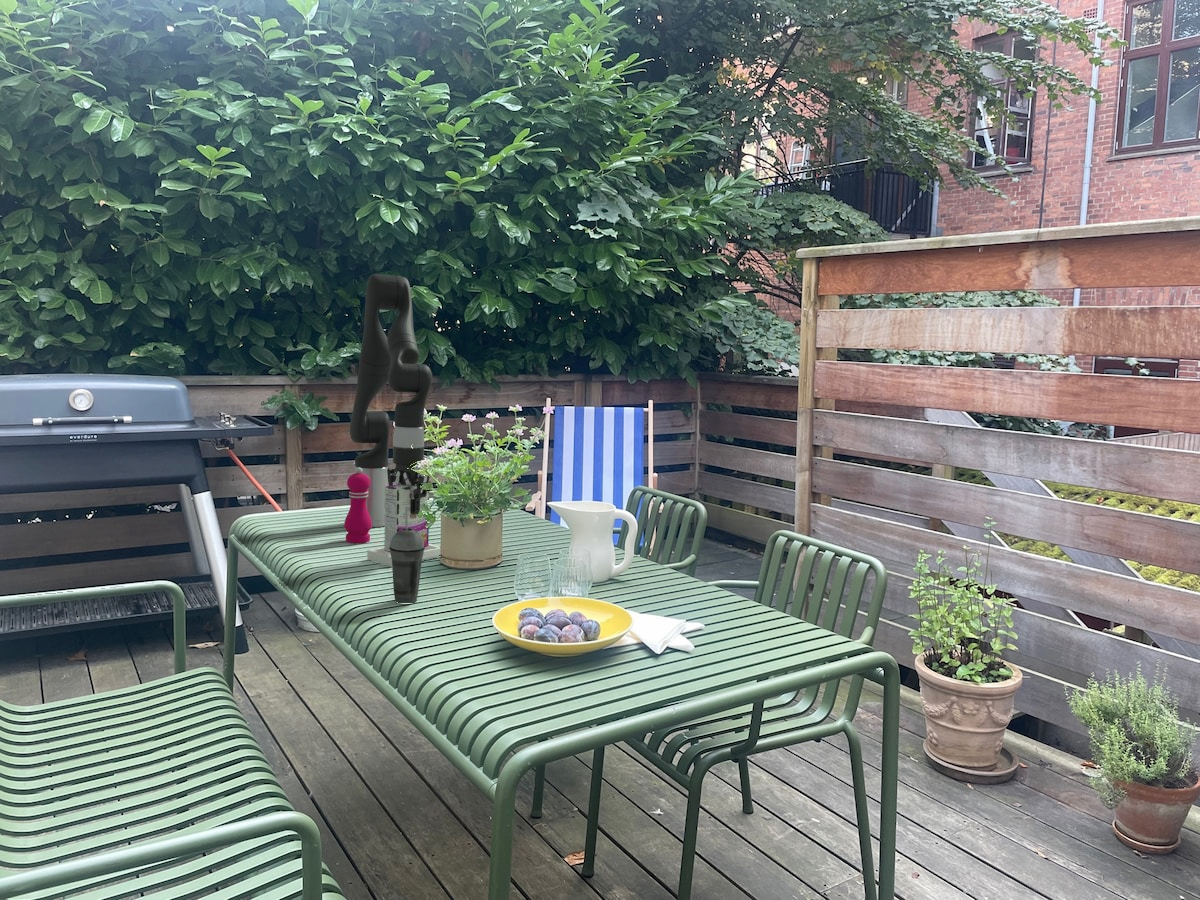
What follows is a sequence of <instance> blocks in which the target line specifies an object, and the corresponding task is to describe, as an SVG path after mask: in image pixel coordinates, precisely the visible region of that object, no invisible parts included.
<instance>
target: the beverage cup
mask: <svg viewBox="0 0 1200 900" xmlns="http://www.w3.org/2000/svg"><path fill="white" fill-rule="evenodd" d="M389 549H390V554H391V558H392V567H391V568H392V569H391V570H392V583H393V594H394V602H395V601H396V602H398V603H414V604H416V603H417V602H418V597H419V596H418V595H419V588H420V579H421V571H422V563H423V561H422V558H423V554H424V549H425V547H424V542H423V539H422V537H421V535H420V534H419V533H418V532H417V531H415V530H413V529H409V528H408V507H405V529H402V530H399V531H398V532H397V533H396V534H395V535H394V536H393V537H392V540H391V543H390V547H389ZM416 601H417V602H416ZM415 602H416V603H415Z"/></svg>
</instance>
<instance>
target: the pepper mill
mask: <svg viewBox="0 0 1200 900" xmlns="http://www.w3.org/2000/svg"><path fill="white" fill-rule="evenodd" d="M346 485H347V487H348V489H349V490H350V491H348V494H349V495H348V497H349V498H350V505H349V506H350V507H349V510H348V513H347V514H346V516H345V519H344V524H343V527H344V530H345V531H346V532H347V533H346V534H345V542H346V543H348V542H349V544H356V543H358V544H365V543H366V542H367V543H369V542H370V541H371V534H370V533H369V532H370V530H372V528H373V527H372V521H371V518H370V515H369V513H368V510H367V506H366V499H367V497H368V491H367V489H368V488H369V487H370V479H369V477H368V476H367V475H366V474H363V473H362V468H360V467H358V468H357V469H356V473H355V472H354V473H353V474H351V475H350V476H349V477H348V478H347V481H346Z"/></svg>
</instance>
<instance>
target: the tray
mask: <svg viewBox="0 0 1200 900" xmlns="http://www.w3.org/2000/svg"><path fill="white" fill-rule="evenodd" d="M428 545H429V546H427V547H425V549H424V554H423V558H422V562H425V561H424V560H427V561H430V560H429V559H432V560H434V559H433V558H437V557H439V555H440V547H441V546H438V545H435V544H431V543H428ZM366 555H367V559H368V561H370V560H371V562H374V563H378V564H381V565H383V566H387V567H390V568H392V558H391V554H390V552H387V551H385V546H383V547H379V548H371V549H367V553H366ZM367 559H366V560H367ZM437 559H438V558H437Z"/></svg>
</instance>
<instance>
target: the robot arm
mask: <svg viewBox="0 0 1200 900" xmlns="http://www.w3.org/2000/svg"><path fill="white" fill-rule="evenodd" d="M411 289H412V288H411V285H410V282H409V280H408V278H407V277H405V276H402V275H391V274H381V273H380V274H379V273H373V274H371V275H370V276H369V278H368V280H367V283H366V289H365V290H366V291H365V292H366V293H365V308H364V324H363V334H362V341H361V346H360V353H359V362H358V373H357V382H356V392H355V397H354V402H353V406H352V413H351V417H350V425H349V436H350V439H351V441H352V442H353V443H357V444H375V446H374V447H373V448H371V449H370V450H369V451H367V452H364V453H361V454H359V455H357V456H356V457H355V459H354V474H355V473H356V469H357V468H358V467H360V468H362V473H363V474H366V475H367V476H368V477H369V479H370V487H369V488H368V489H367V491H368V497H367V499H366V506H367V510H368V513H369V515H370V518H371V521H372V528H379V527H380V528H381V527H385V487H386V486H392V485H399V484H402V485H407V487H409V490H410V496H411V507H410V513H411V514H413V515H414V514H418V513H419V511H420V499H421V498H423V497H426V495H427V490H423V491H422V493H421V490H422V488H420V486H419V484H421V483H429V482H430V477H429V476H430V475H429V476H425V475H423V474H424V473H423V474H420V473H417V472H415V471H413V470H411V468H412V467H413V466H415V465H416V464H417V463H415V462H417V461H420V460H423V459H424V460H425V431H424V426H425V424H424V423H425V422H424V421H425V407H426V403H427V399H428V395H429V393H430V390H431V386H432V382H433V372H432V370H431V368H430V367H429V366H428V365H427V364H424V363H418V361H419V360H420V352H419V348H418V344H417V339H416V335H415V329H414V315H413V314H414V311H413V310H414V309H413V300H412V290H411ZM381 310H383V311H395V312H397V311H398V312H399V315H398V316H397V318H396V319H395V321H393V324H392V325H391V327H390V328H389V330H388V333H387V335H386V333H385V332H384V329H383V327H382V325H381V322H380V319H379V311H381ZM387 384H388V386H389V387H390V388H391V390H392V391H394V392H397V393H413V394H414V393H415V395H414V396H413V397H412V398H411V399H410V400H407V401H402V402H398V403H397V404H395V408H394V429H393V436H392V437H393V440H392V463H393V464H395V466H394V467H391V468H389V467H388V466H389V465H388V463H389V450H390V449H389V446H390V434H391V421H390V415H389V414H388V412H387V411H380V410H379V411H375V410H373V411H372V410H371V411H369V410H368V409H369V406H370V405H371V402H373V400H374V398H375V397H376V396H377V395H378V394H379V392H381V391H382V390H383V389H384V387H386V385H387ZM412 444H413V445H412ZM411 445H412V447H413V449H412V448H411ZM413 463H415V464H413ZM411 464H413V465H411ZM410 465H411V466H410ZM407 468H409V469H407ZM412 469H414V468H412ZM429 484H430V483H429ZM414 485H417V486H414ZM413 486H414V487H413ZM421 486H422V485H421ZM427 489H428V488H427ZM414 490H416V494H415V493H414Z"/></svg>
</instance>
